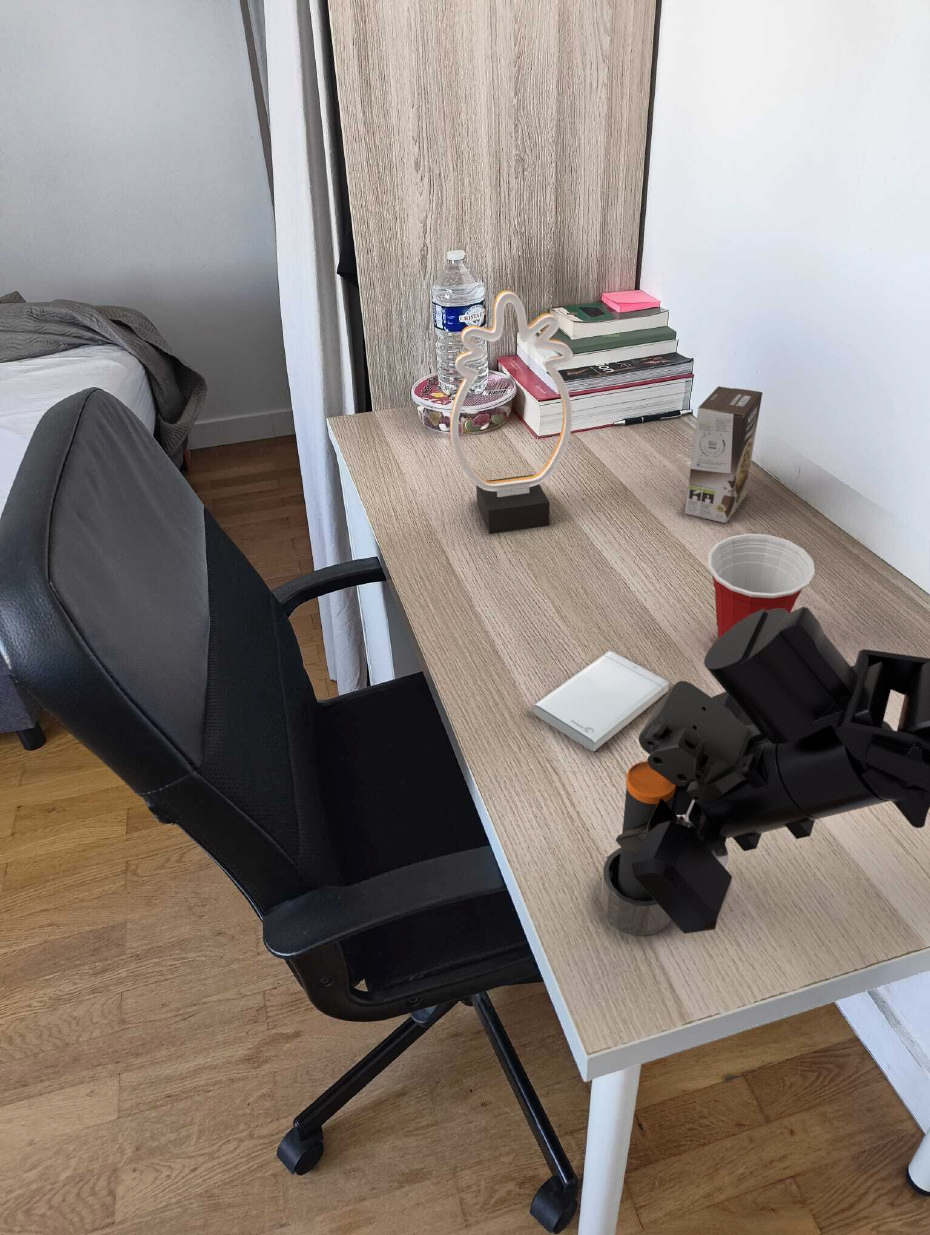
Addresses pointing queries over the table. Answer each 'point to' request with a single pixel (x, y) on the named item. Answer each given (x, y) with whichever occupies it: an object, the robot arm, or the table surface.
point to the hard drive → (601, 700)
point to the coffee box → (722, 453)
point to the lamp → (523, 496)
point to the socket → (628, 904)
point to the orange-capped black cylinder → (640, 819)
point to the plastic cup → (756, 576)
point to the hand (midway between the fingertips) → (628, 825)
